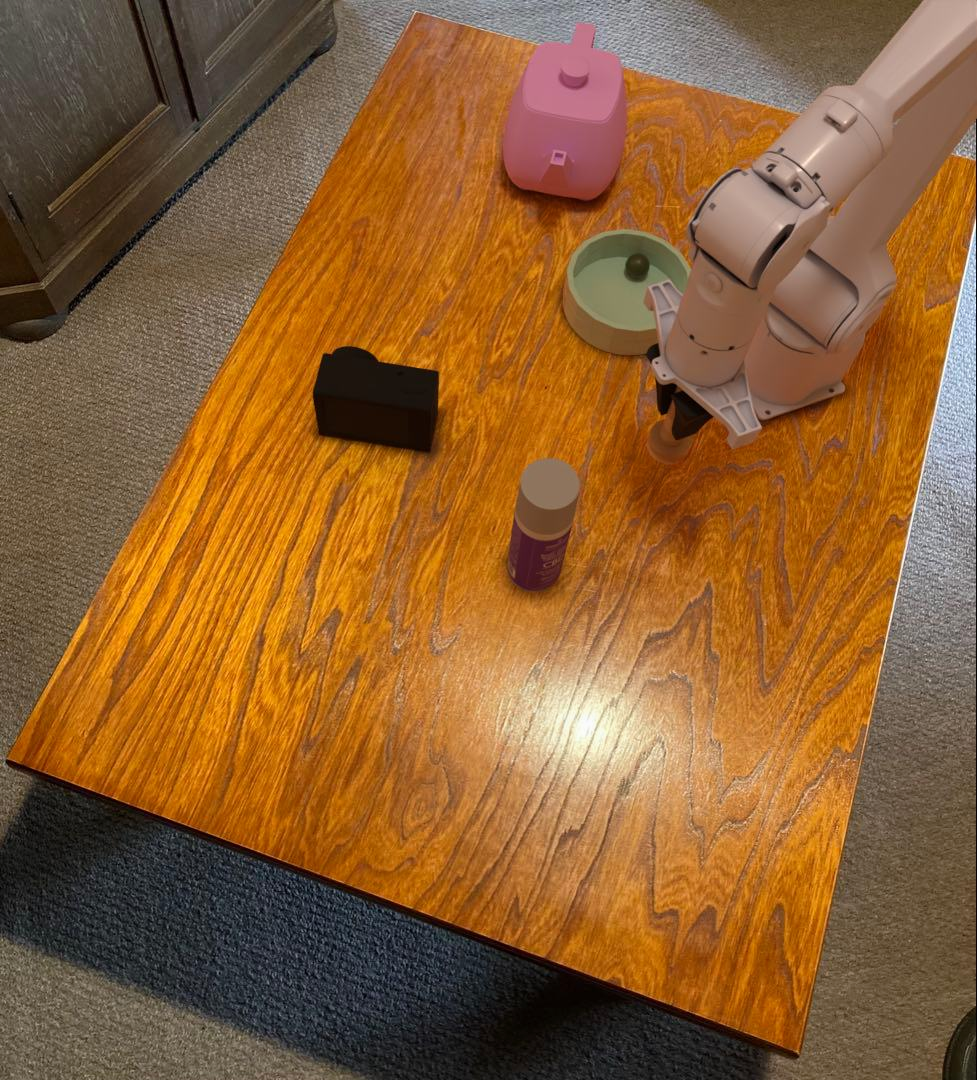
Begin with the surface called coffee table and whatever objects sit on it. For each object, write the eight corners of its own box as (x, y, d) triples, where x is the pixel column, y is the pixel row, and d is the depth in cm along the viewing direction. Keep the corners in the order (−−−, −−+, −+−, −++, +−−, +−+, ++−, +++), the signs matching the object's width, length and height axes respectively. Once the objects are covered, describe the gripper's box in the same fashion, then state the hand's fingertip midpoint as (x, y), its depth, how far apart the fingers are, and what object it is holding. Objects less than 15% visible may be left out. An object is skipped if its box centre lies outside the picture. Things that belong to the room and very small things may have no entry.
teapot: (518, 91, 119) (528, -13, 107) (629, 111, 118) (651, 9, 107) (484, 226, 110) (492, 129, 99) (604, 248, 110) (626, 153, 98)
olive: (640, 261, 108) (645, 245, 106) (651, 279, 107) (656, 263, 105) (619, 268, 108) (623, 251, 106) (629, 286, 107) (634, 270, 105)
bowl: (650, 243, 110) (658, 215, 107) (706, 335, 105) (717, 309, 102) (542, 275, 108) (546, 248, 104) (595, 371, 103) (601, 346, 99)
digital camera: (441, 403, 100) (443, 359, 94) (431, 453, 98) (432, 410, 92) (331, 386, 100) (325, 340, 94) (318, 435, 98) (311, 391, 92)
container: (543, 603, 92) (562, 522, 78) (496, 576, 93) (506, 491, 79) (570, 561, 94) (592, 474, 80) (523, 535, 95) (538, 445, 81)
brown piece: (676, 422, 93) (700, 361, 85) (695, 456, 92) (721, 397, 84) (639, 435, 92) (659, 375, 84) (658, 469, 91) (681, 411, 83)
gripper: (622, 258, 78) (595, 367, 90) (717, 416, 73) (675, 509, 85) (706, 232, 80) (669, 342, 92) (806, 384, 74) (752, 480, 86)
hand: (677, 420), depth 89 cm, fingers closed on brown piece, 2 cm apart
